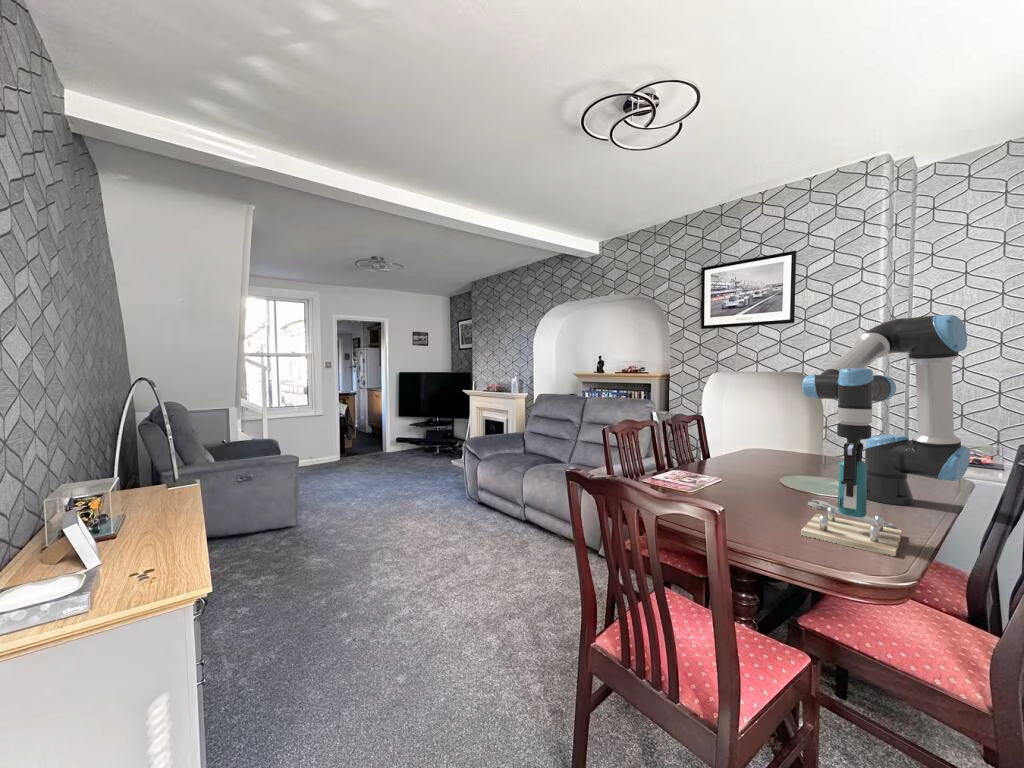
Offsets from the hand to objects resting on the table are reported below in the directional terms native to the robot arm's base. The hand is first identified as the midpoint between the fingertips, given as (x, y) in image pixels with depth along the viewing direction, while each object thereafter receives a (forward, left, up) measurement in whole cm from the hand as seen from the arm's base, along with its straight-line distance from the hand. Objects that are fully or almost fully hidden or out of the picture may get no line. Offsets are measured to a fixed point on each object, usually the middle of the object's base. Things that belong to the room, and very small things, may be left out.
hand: (851, 505), depth 122 cm
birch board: (0, 0, -9) cm, 9 cm away
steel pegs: (0, 0, -7) cm, 7 cm away
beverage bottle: (0, 0, -4) cm, 4 cm away
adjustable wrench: (-21, -4, -9) cm, 23 cm away
